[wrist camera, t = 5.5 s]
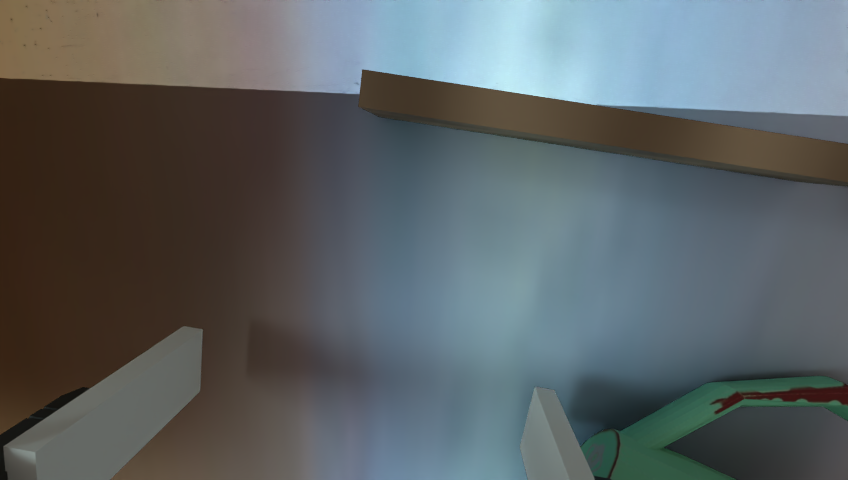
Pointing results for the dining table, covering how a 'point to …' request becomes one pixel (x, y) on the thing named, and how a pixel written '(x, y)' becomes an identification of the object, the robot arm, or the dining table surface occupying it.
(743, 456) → the dining table surface
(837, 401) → the mug
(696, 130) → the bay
